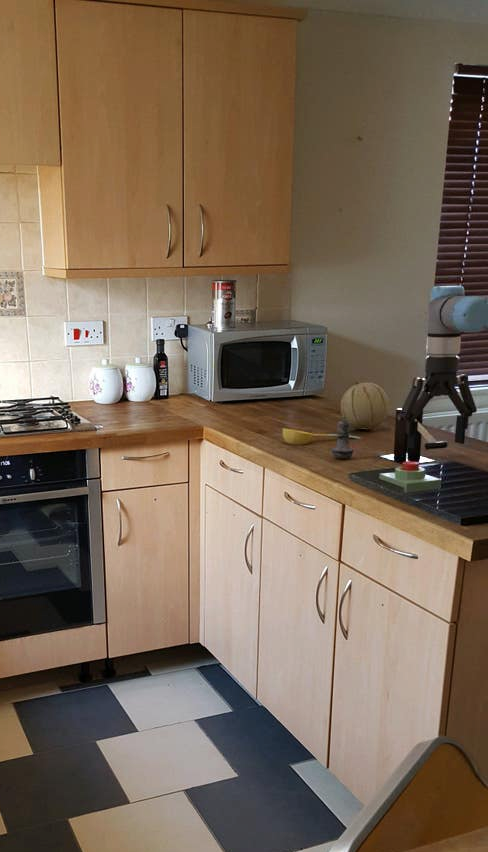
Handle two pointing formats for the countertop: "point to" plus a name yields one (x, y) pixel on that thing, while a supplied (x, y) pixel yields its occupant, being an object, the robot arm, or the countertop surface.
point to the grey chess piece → (343, 441)
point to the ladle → (302, 436)
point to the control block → (411, 480)
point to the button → (410, 466)
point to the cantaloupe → (365, 405)
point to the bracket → (400, 443)
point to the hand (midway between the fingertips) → (435, 445)
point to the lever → (430, 439)
